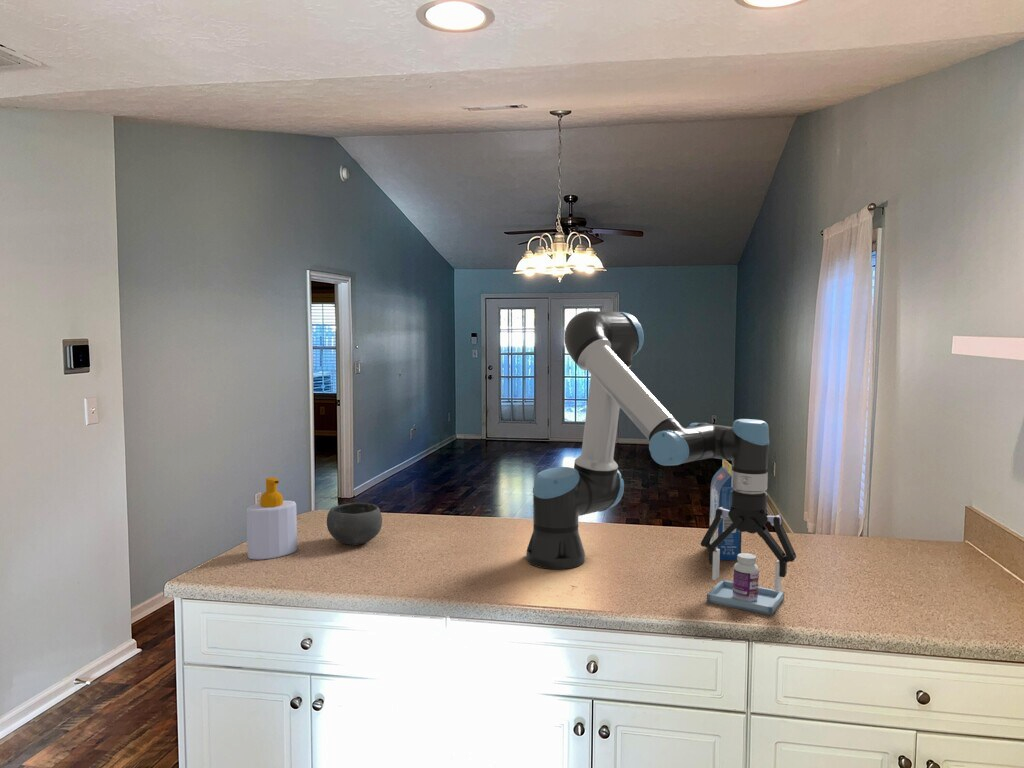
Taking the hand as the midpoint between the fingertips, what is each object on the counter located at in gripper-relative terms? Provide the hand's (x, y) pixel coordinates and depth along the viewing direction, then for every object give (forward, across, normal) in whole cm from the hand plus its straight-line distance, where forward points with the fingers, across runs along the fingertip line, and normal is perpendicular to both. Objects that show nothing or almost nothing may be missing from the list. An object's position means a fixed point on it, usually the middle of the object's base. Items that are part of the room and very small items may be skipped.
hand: (746, 584), depth 163 cm
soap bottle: (+4, -114, -36) cm, 120 cm away
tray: (+4, 0, 0) cm, 4 cm away
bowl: (+4, -103, -17) cm, 104 cm away
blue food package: (+4, -14, +31) cm, 34 cm away
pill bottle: (+3, 0, 0) cm, 3 cm away
